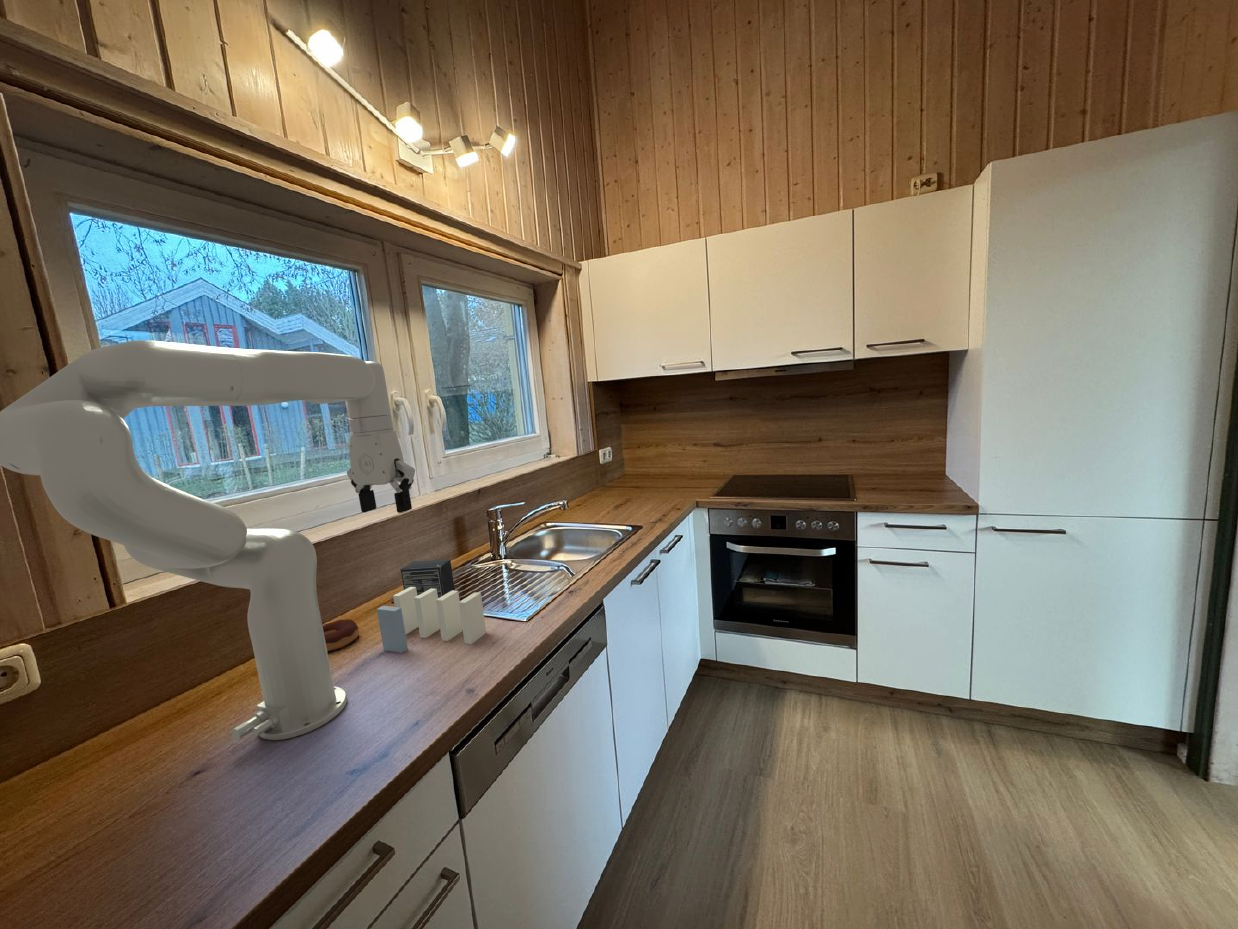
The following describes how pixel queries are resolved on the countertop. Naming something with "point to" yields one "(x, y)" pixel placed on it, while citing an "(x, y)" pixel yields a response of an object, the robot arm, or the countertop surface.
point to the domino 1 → (392, 629)
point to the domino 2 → (407, 608)
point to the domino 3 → (427, 612)
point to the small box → (429, 576)
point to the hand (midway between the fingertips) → (386, 510)
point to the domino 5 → (472, 618)
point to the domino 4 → (449, 615)
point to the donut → (339, 633)
